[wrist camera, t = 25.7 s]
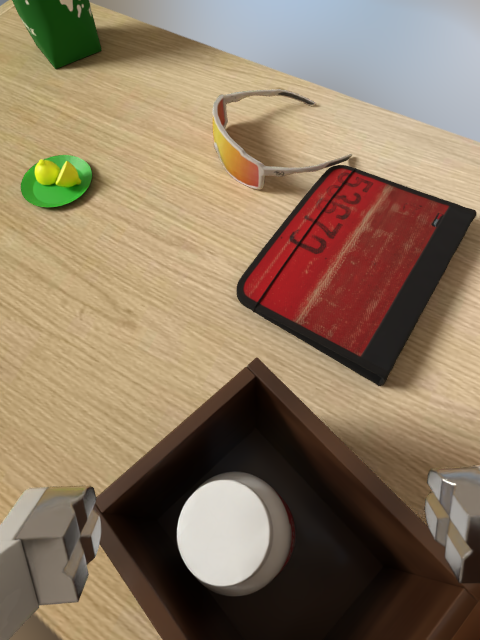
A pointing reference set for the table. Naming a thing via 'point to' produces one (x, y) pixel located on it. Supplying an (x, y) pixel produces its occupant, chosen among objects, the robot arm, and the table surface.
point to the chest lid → (470, 626)
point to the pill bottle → (235, 534)
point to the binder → (355, 267)
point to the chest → (310, 523)
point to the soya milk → (60, 28)
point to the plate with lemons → (56, 181)
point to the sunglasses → (236, 157)
